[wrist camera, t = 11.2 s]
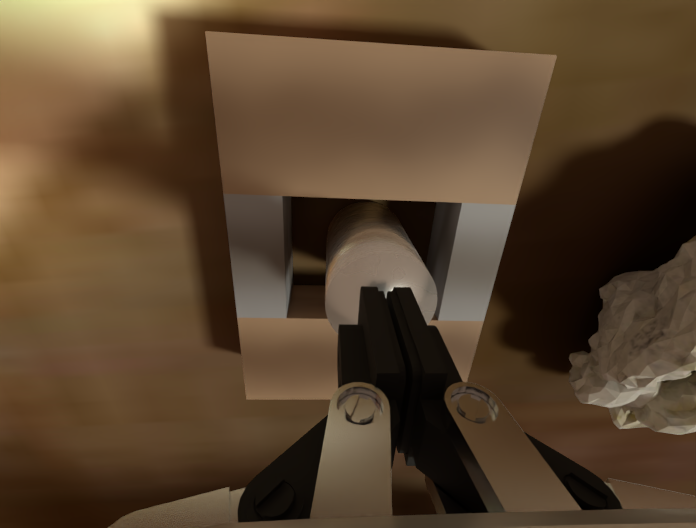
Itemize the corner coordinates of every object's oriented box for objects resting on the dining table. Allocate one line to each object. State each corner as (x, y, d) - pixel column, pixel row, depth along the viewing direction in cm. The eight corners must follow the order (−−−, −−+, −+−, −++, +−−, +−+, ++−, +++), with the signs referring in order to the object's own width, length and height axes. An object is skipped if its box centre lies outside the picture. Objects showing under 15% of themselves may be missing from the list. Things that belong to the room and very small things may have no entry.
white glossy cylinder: (397, 272, 20) (428, 349, 14) (325, 271, 20) (324, 348, 14) (406, 202, 18) (446, 254, 12) (327, 199, 18) (326, 251, 12)
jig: (444, 359, 24) (462, 398, 20) (257, 358, 23) (246, 399, 20) (511, 64, 16) (557, 55, 13) (231, 45, 15) (204, 30, 12)
